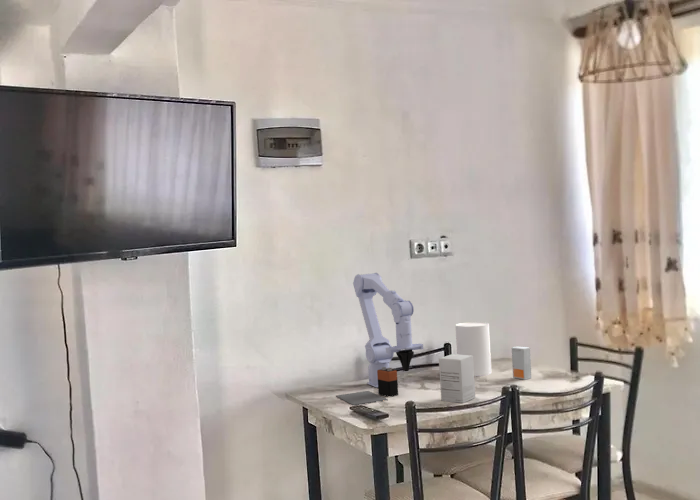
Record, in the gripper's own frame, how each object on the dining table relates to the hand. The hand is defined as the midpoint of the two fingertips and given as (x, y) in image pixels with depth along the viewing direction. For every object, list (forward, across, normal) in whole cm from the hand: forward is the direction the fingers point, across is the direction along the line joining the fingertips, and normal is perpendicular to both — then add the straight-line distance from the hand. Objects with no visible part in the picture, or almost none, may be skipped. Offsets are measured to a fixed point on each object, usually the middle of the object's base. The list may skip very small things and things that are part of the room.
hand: (405, 370), depth 267 cm
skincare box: (+8, +47, -5) cm, 48 cm away
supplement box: (+8, +9, -21) cm, 24 cm away
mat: (+8, -18, +1) cm, 20 cm away
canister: (+8, +38, +15) cm, 42 cm away
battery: (+8, -8, 0) cm, 11 cm away
